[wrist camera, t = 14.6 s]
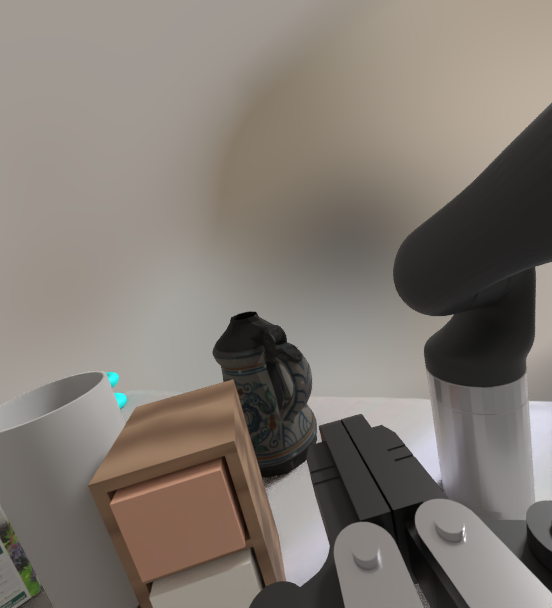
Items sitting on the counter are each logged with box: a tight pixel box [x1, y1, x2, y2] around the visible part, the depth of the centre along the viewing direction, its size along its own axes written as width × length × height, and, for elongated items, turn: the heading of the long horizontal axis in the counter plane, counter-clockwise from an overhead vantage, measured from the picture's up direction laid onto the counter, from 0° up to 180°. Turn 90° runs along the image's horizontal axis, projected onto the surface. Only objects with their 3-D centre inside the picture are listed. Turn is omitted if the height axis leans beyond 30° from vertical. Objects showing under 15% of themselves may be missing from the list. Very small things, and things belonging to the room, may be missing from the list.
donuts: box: [106, 372, 127, 409], centre depth 85 cm, size 10×10×10 cm
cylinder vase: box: [0, 371, 140, 608], centre depth 35 cm, size 12×12×25 cm
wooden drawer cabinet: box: [88, 379, 286, 608], centre depth 29 cm, size 11×11×22 cm
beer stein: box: [213, 312, 317, 477], centre depth 51 cm, size 16×19×25 cm
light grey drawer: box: [149, 547, 266, 608], centre depth 27 cm, size 6×8×7 cm
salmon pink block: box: [110, 456, 245, 582], centre depth 25 cm, size 6×8×7 cm
